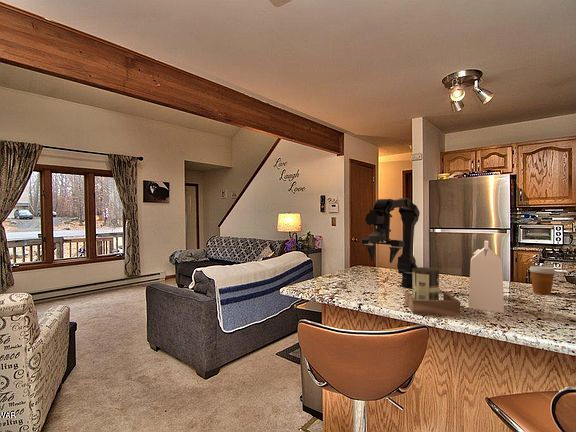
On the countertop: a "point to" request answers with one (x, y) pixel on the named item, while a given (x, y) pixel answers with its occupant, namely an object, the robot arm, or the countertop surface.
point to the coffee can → (425, 283)
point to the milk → (486, 281)
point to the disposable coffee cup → (542, 279)
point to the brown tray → (433, 305)
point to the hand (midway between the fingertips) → (381, 261)
